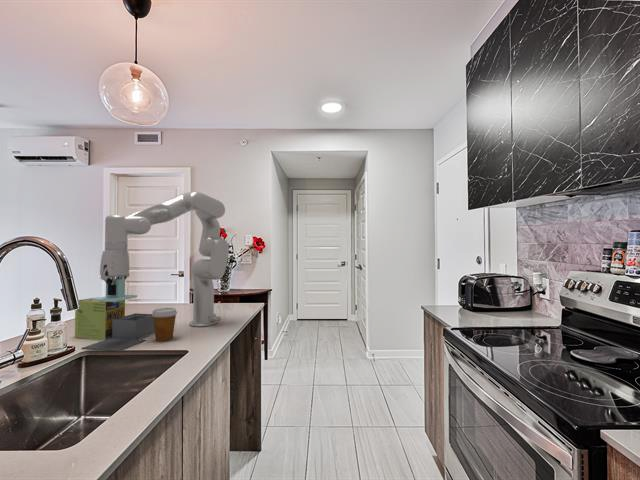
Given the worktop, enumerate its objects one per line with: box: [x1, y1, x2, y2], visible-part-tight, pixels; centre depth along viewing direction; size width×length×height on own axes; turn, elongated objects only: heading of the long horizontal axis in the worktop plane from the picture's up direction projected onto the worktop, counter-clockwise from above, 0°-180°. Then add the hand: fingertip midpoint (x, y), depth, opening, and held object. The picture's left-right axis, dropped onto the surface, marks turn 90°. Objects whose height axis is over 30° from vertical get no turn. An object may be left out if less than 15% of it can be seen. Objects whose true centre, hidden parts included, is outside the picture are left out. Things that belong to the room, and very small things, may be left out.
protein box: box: [74, 296, 126, 341], centre depth 140 cm, size 10×15×16 cm
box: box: [112, 312, 155, 339], centre depth 141 cm, size 11×13×8 cm
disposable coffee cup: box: [151, 307, 178, 342], centre depth 135 cm, size 10×10×12 cm
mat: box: [81, 338, 147, 353], centre depth 128 cm, size 16×14×1 cm
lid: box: [92, 278, 138, 302], centre depth 128 cm, size 10×12×8 cm
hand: (115, 294), depth 128 cm, fingers closed on lid, 2 cm apart
